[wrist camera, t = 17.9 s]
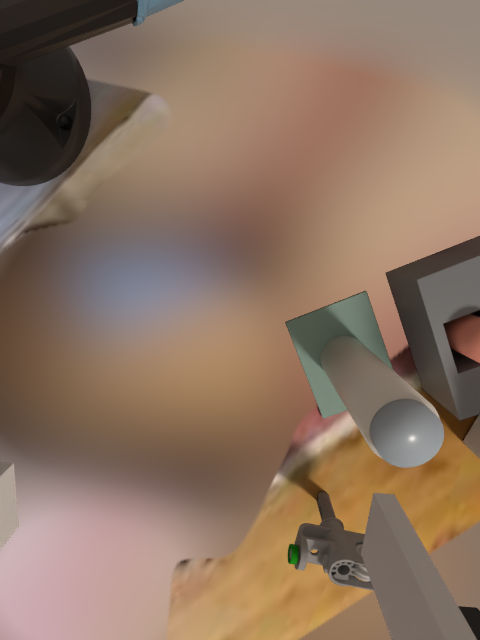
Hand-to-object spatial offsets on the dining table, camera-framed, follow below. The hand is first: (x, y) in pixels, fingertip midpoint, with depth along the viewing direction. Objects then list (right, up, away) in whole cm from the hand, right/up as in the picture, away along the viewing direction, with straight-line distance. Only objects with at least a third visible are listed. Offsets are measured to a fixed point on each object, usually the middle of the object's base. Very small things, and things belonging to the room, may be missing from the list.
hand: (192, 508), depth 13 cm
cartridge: (+13, +3, +25) cm, 29 cm away
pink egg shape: (+23, +7, +24) cm, 34 cm away
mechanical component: (+12, -14, +30) cm, 35 cm away
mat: (+13, +3, +26) cm, 29 cm away
